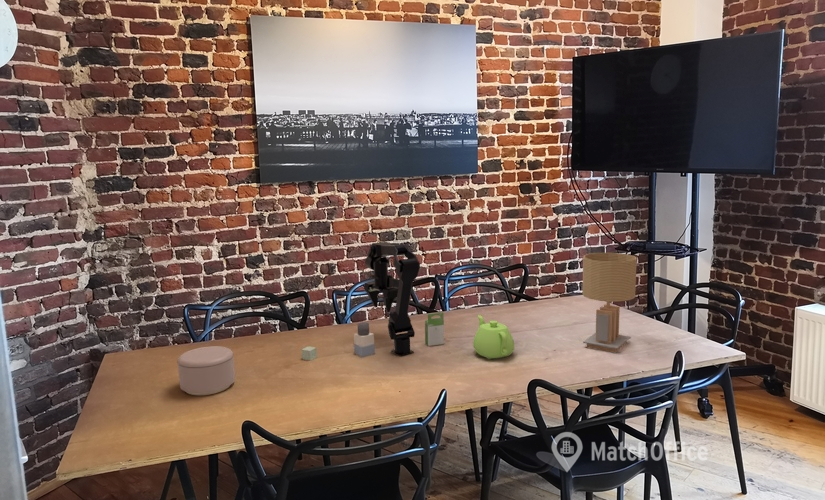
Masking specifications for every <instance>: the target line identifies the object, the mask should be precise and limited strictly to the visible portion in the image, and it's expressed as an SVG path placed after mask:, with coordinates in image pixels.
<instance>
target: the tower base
mask: <svg viewBox="0 0 825 500" xmlns="http://www.w3.org/2000/svg"><path fill="white" fill-rule="evenodd" d="M353 353H354V354H355V355H357V356H358V357H360V358H364V357H368V356H372V355H375V354H376V345H375V343H374V344H372V345H368V346H365V347H362V346H359V345H356V344H355V342H354V343H353Z"/></svg>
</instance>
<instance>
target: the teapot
mask: <svg viewBox="0 0 825 500" xmlns="http://www.w3.org/2000/svg"><path fill="white" fill-rule="evenodd" d="M477 317H478V321H479V323H478V325H479V326H478V329H477V331H476V332H475V335H474V339H473V342H472V343H473V348H474V350H475V352H476V353H477V354H478V355H480V356H482V357H484V358H486V359H487V360H493V359H498V358H506V357H509V356H510V355H511V354H512V353H514V350H515V343H514V338H513V336H512V334H511V332H510V329H509V328H508V326H506V325H505V324H504V323H501V322H499V321H497V320H490V321H489V322H487V323H485V319H484V318H483V316H482V315H481V314H477Z"/></svg>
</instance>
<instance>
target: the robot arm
mask: <svg viewBox="0 0 825 500" xmlns="http://www.w3.org/2000/svg"><path fill="white" fill-rule="evenodd" d="M388 256H393V257H394V258H393V263H392V264H393V266H394V269H395V273H396V275H397V277H398V279H395V278H393V276H392V275H390V274H389V270H388V269H389V268H388V267H389V266H388V264H389V263H390V261H389V260H388V258H387V257H388ZM398 256H404V257H405V259H404V258H402V259H399V258H398ZM364 265H365V267H366V268H367V269H370V270H372V271H373V274H372V275H371V278H372V279H373V281H370V282H365V283H364V284H363V290H364V291H365V293H366V295H368V297H369V299H370V301H371V303H372V305H373V306H374V308H378V306H379V294H380V292H381V293H382V300H383V303H384V307H385V310H386V312H387V313H389V316H388V317H389V318H388V323H387V329H388V330H387V331H388V334H389V339H390V340H393V343H394V345H393V346H394V347H393V350H391V353H393V354H394V355H397V356H399V357H402V356H406V355H410V354H414V350H411V338H415V335H416V334H415V333H416V332H415V330H414V327H413V325H412V322H411V318H410V316H409V314H408V313H409V307H410V300H411V293H412V287H413V282H414V281H415V280H416V279H417V277H418V276H419V273H420V269H421V264H420V261H419V259H418V257H417V255H416V254H415V253H413V252H412V251H411V250H409V248H408V246H407V245H406V244H391V243H390V242H388V241H380V242H379V241H378V242H373V243H371V245H370V247H369V250H368V252H367V256H366V258H365V260H364ZM395 299H396V301H395V302H396V303H395V309H394V311H392V312H390V311H391V309H392V306H393V304H394V303H393V302H394V300H395Z"/></svg>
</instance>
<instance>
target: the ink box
mask: <svg viewBox="0 0 825 500" xmlns="http://www.w3.org/2000/svg"><path fill="white" fill-rule="evenodd" d="M436 316H438V317H436ZM433 317H434V318H433ZM444 318H445V317H444V312H442V311H441V312H435V313H434V312H433V313H428V314H427V320H426V319H425V320H424V341H425V342H424V343H425V345H426V346H428V347H431V346H432V347H433V346H437V345H439V346H440V345H445V324H444V323H445V322H444V321H445V320H444Z"/></svg>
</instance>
